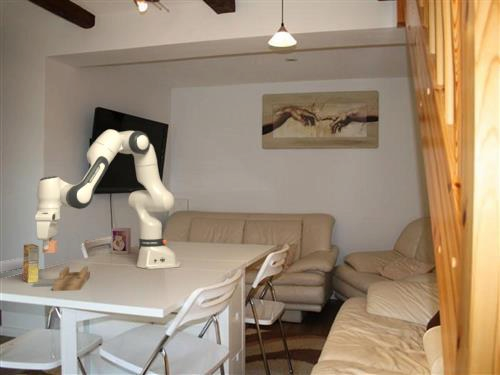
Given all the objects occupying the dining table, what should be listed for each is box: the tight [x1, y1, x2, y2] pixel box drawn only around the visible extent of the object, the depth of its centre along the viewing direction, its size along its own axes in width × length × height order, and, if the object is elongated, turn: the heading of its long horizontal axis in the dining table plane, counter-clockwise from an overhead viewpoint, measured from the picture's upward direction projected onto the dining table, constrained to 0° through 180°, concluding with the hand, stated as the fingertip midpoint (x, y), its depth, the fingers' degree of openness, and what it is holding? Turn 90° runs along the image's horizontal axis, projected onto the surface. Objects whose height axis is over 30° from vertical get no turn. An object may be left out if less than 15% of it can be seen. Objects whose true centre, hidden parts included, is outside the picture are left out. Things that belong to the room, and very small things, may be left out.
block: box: [42, 240, 58, 254], centre depth 179 cm, size 4×4×4 cm
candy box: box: [22, 243, 40, 284], centre depth 184 cm, size 9×4×15 cm, turn 41°
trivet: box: [32, 277, 59, 288], centre depth 179 cm, size 9×9×1 cm
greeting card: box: [111, 227, 132, 255], centre depth 264 cm, size 11×7×15 cm, turn 73°
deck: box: [52, 265, 91, 292], centre depth 180 cm, size 10×24×6 cm, turn 12°
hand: (48, 248), depth 179 cm, fingers closed on block, 4 cm apart
